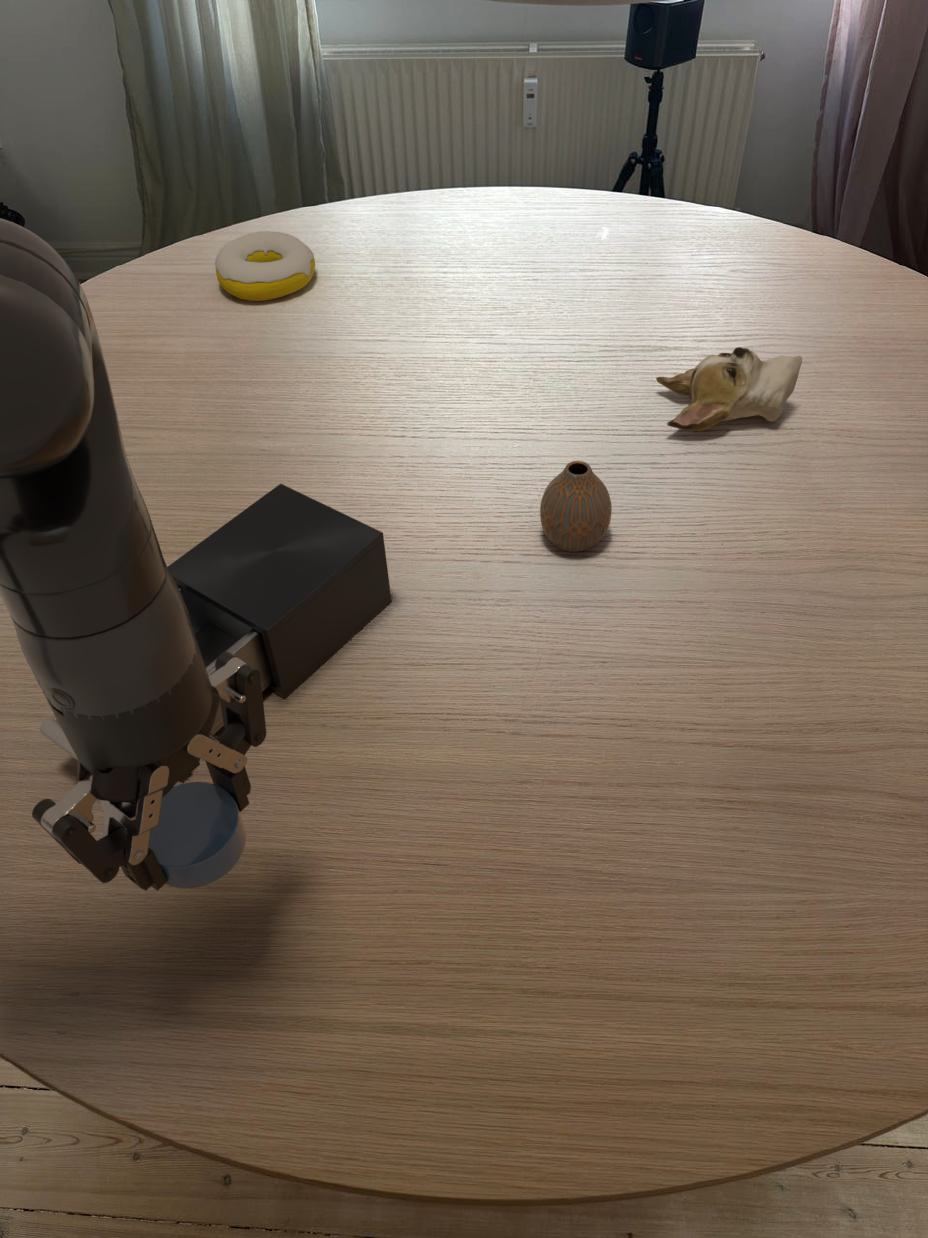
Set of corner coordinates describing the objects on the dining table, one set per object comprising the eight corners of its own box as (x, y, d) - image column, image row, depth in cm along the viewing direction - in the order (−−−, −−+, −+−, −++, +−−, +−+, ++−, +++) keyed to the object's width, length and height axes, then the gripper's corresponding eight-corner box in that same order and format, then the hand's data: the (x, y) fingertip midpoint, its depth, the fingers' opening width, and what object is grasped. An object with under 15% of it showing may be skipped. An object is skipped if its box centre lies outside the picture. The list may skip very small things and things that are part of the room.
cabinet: (284, 699, 85) (266, 630, 79) (185, 638, 90) (161, 570, 84) (392, 601, 93) (383, 532, 87) (295, 551, 98) (280, 482, 92)
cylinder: (160, 905, 57) (149, 884, 55) (136, 826, 61) (126, 804, 59) (259, 863, 59) (251, 841, 57) (229, 789, 63) (222, 767, 61)
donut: (219, 265, 143) (211, 231, 139) (313, 254, 144) (308, 220, 141) (219, 311, 133) (211, 276, 130) (321, 299, 135) (316, 264, 131)
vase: (567, 571, 95) (571, 500, 89) (525, 533, 99) (526, 463, 93) (623, 543, 97) (630, 472, 91) (579, 507, 101) (584, 437, 95)
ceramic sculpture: (816, 369, 102) (670, 381, 103) (804, 439, 108) (666, 449, 109) (793, 318, 109) (657, 330, 110) (782, 386, 115) (654, 396, 117)
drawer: (132, 820, 76) (105, 768, 71) (41, 751, 81) (11, 698, 76) (296, 672, 86) (283, 618, 81) (206, 619, 91) (189, 565, 86)
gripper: (177, 542, 53) (237, 734, 65) (-60, 710, 45) (57, 893, 57) (276, 598, 50) (320, 789, 62) (38, 789, 42) (141, 966, 54)
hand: (193, 839), depth 59 cm, fingers closed on cylinder, 6 cm apart
